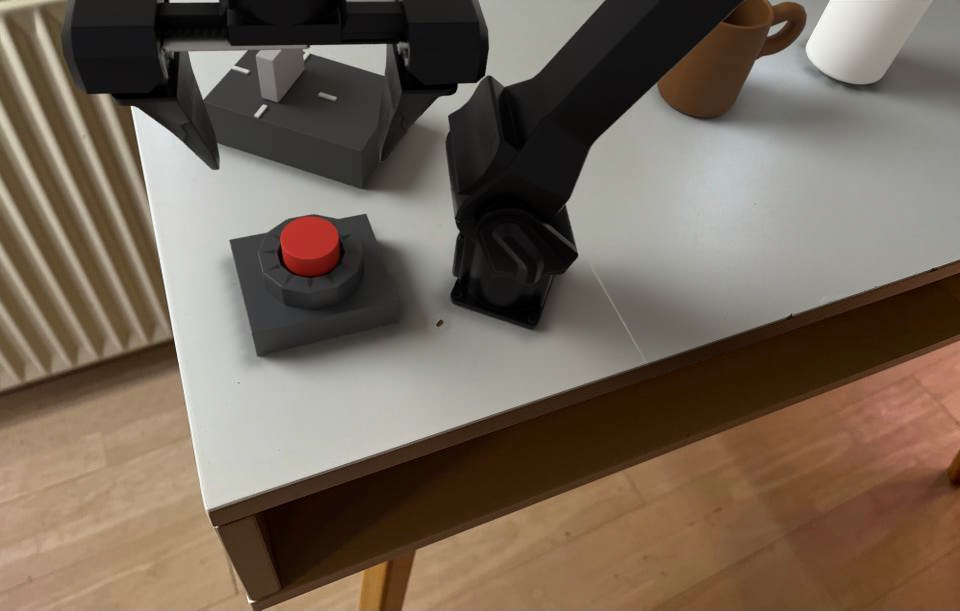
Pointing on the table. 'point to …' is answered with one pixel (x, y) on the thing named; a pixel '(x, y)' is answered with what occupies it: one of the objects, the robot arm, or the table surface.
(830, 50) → the beverage can
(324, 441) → the table surface
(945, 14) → the table surface
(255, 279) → the push button box
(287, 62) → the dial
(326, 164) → the slider switch box
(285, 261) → the stop button
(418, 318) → the table surface
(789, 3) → the mug
